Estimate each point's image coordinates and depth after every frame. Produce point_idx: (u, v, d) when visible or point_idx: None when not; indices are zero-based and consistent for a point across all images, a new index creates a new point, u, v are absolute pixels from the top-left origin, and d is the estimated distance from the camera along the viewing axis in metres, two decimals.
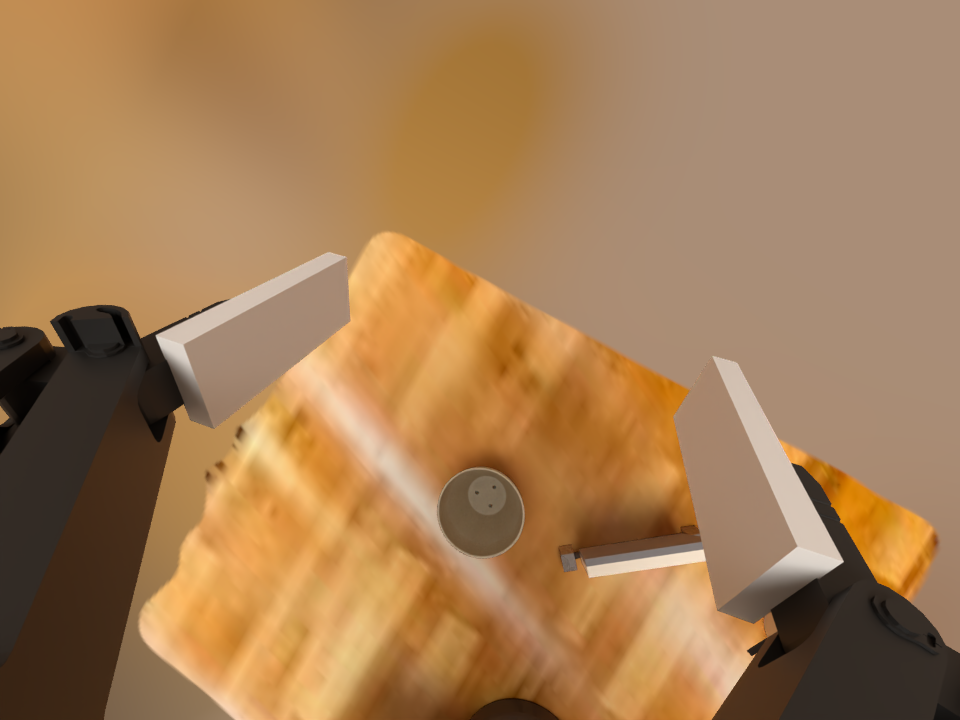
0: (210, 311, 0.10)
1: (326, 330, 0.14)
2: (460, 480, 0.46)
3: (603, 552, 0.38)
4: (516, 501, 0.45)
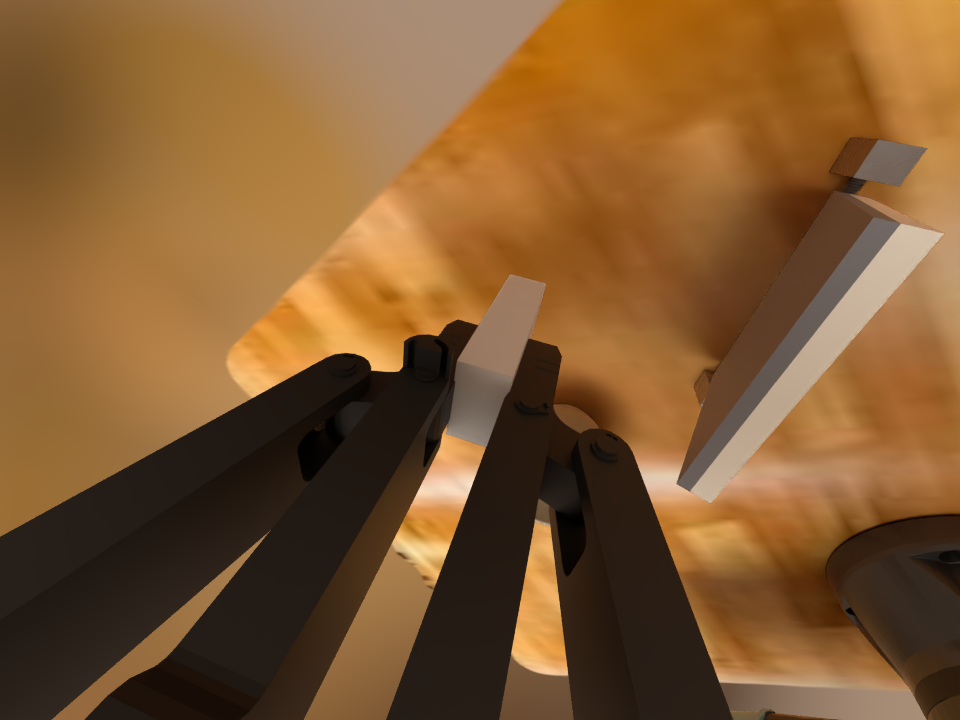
0: (474, 335, 0.11)
1: None
2: None
3: (711, 412, 0.19)
4: None
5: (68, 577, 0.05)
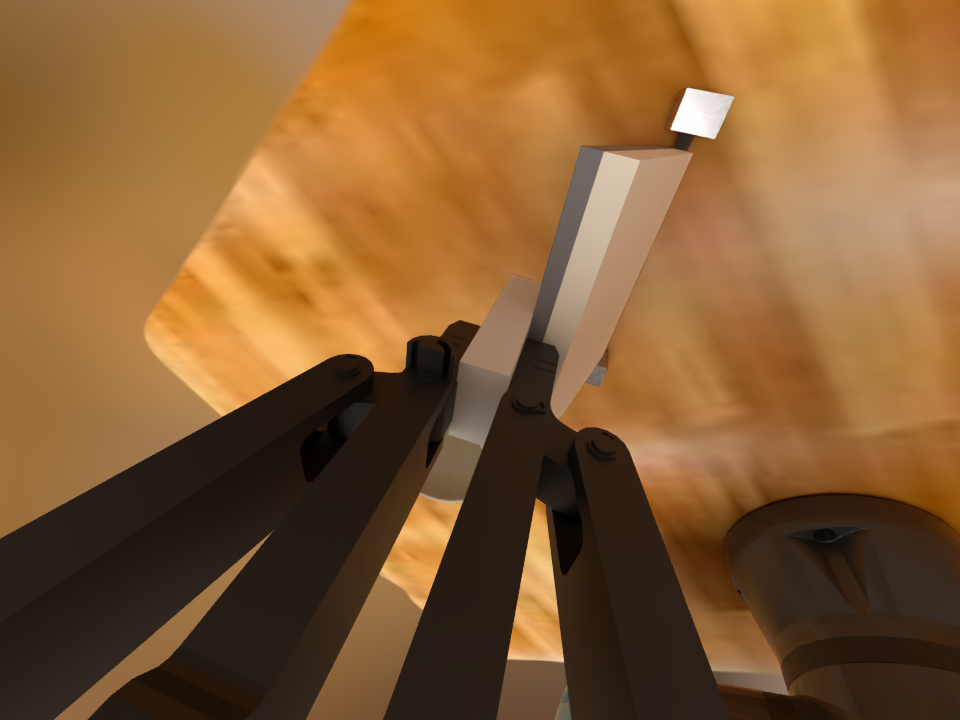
0: (477, 336, 0.11)
1: None
2: None
3: None
4: None
5: (70, 577, 0.05)
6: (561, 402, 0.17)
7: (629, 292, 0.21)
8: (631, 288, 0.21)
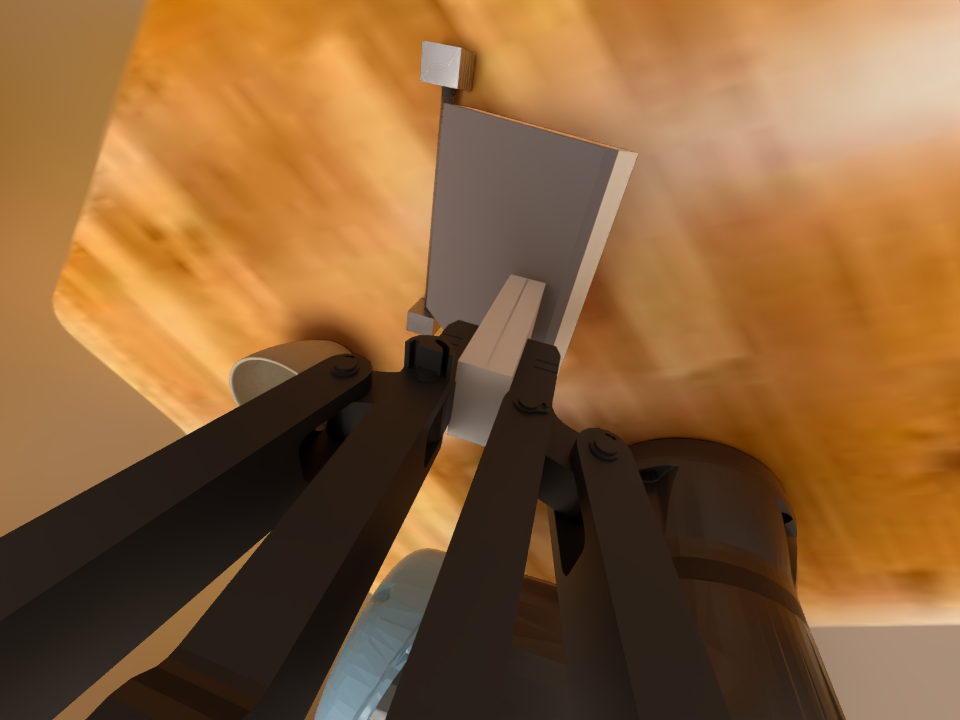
0: (475, 335, 0.11)
1: None
2: None
3: None
4: None
5: (69, 577, 0.05)
6: None
7: None
8: None
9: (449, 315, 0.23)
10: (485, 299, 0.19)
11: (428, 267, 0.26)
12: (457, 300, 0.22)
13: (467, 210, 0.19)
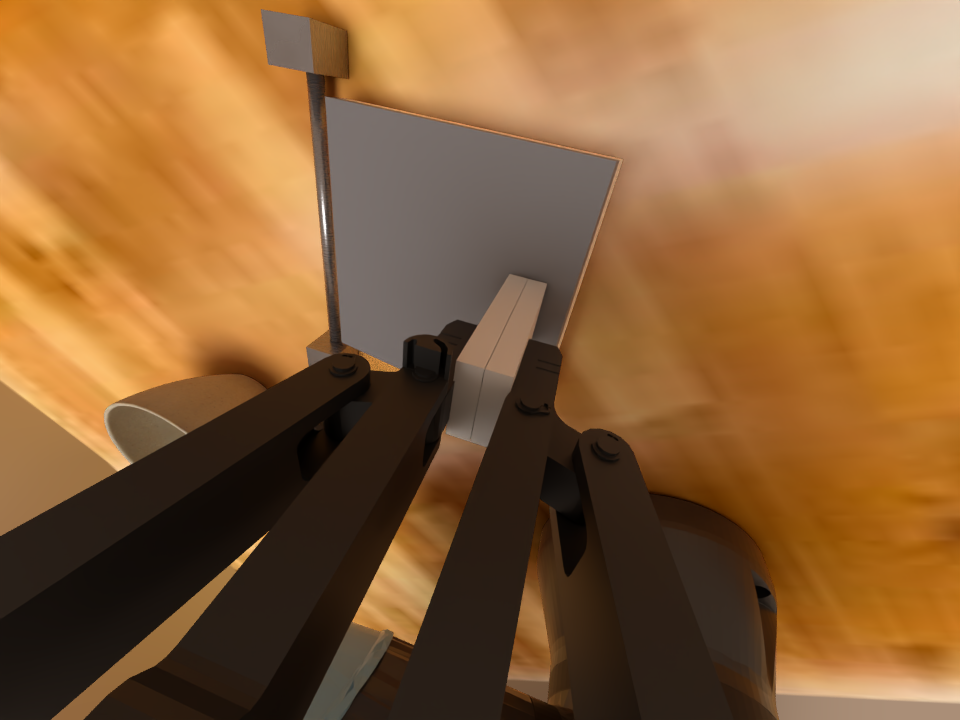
0: (474, 335, 0.11)
1: None
2: None
3: None
4: None
5: (67, 577, 0.05)
6: None
7: None
8: None
9: (391, 344, 0.20)
10: (455, 319, 0.17)
11: (326, 295, 0.21)
12: (403, 327, 0.19)
13: (402, 227, 0.16)
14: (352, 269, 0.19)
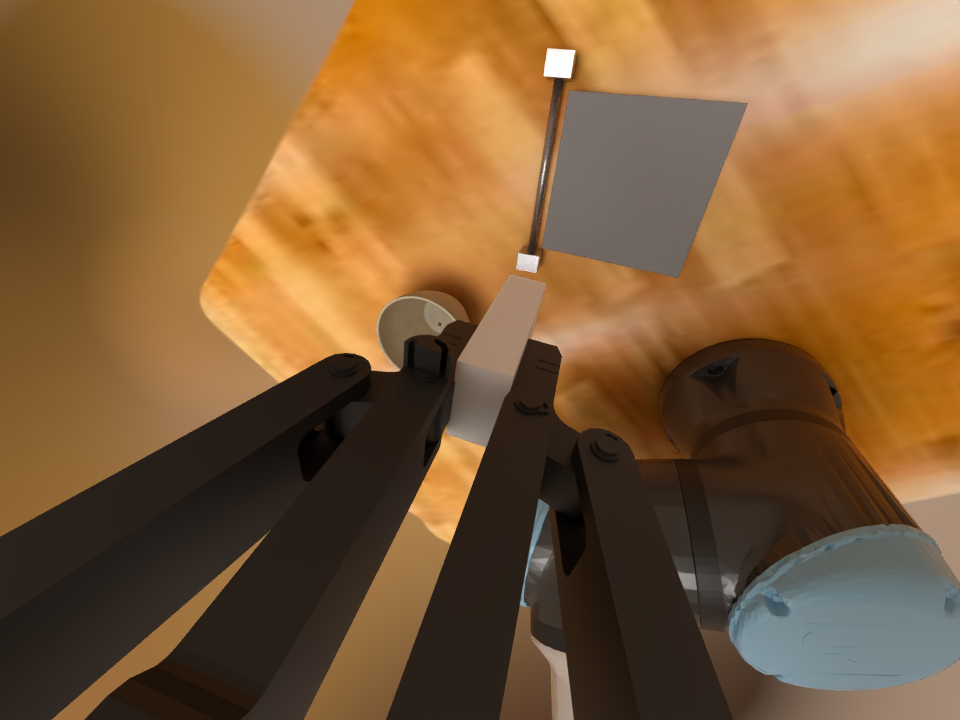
0: (475, 335, 0.11)
1: None
2: None
3: (641, 243, 0.31)
4: None
5: (68, 577, 0.05)
6: None
7: None
8: None
9: (582, 241, 0.33)
10: (634, 212, 0.30)
11: (534, 217, 0.34)
12: (594, 225, 0.32)
13: (607, 159, 0.29)
14: (563, 193, 0.32)
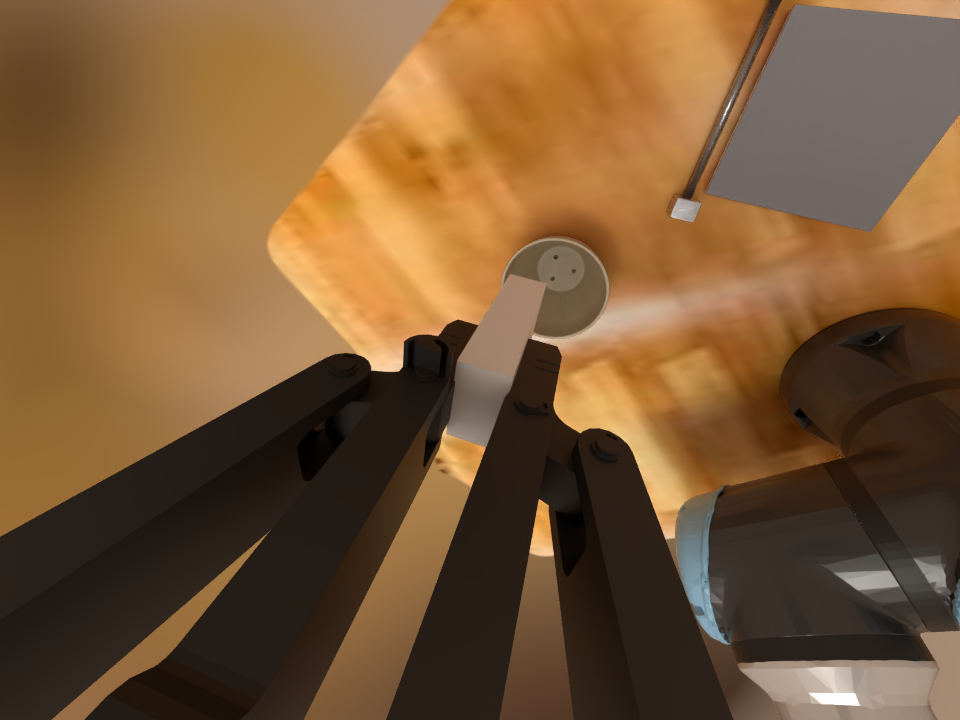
0: (474, 335, 0.11)
1: None
2: None
3: (835, 191, 0.28)
4: None
5: (67, 577, 0.05)
6: None
7: None
8: None
9: (760, 186, 0.30)
10: (837, 155, 0.27)
11: (703, 158, 0.31)
12: (781, 169, 0.29)
13: (820, 90, 0.26)
14: (751, 130, 0.29)
